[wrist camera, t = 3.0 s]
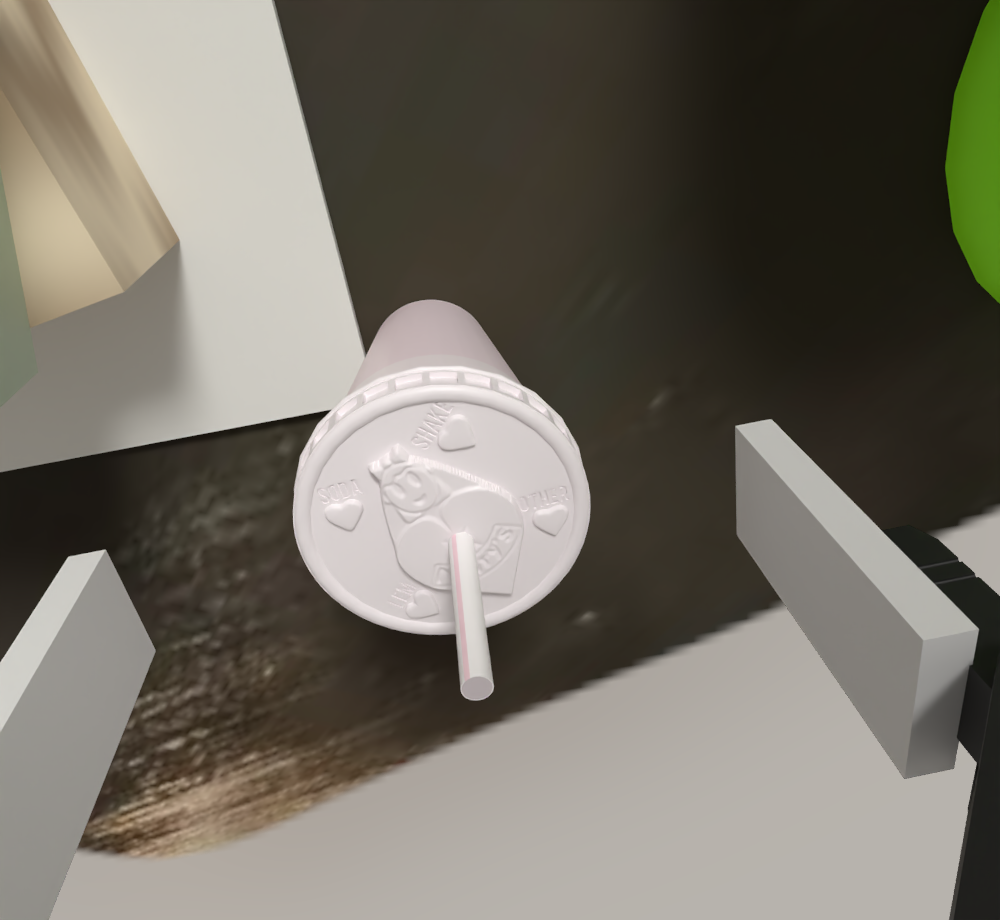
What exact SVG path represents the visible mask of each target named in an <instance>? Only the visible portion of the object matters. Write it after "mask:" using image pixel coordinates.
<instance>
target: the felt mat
mask: <svg viewBox="0 0 1000 920" xmlns="http://www.w3.org/2000/svg"><path fill="white" fill-rule="evenodd" d="M48 2H49V4H50V5H51V7H52V9H53V11H54V13H55V14H56V16H57V18H58V20H59V22H60V24H61V25H62V27H63V29H64V31H65V33H66V34H67V36H68V38H69V40H70V42H71V44H72V45H73V47H74V49H75V51H76V53H77V54H78V56H79V58H80V60H81V62H82V63H83V65H84V67H85V69H86V71H87V73H88V74H89V76H90V78H91V80H92V82H93V83H94V85H95V87H96V89H97V91H98V93H99V94H100V96H101V98H102V100H103V102H104V103H105V105H106V107H107V109H108V111H109V113H110V114H111V116H112V118H113V120H114V122H115V123H116V125H117V127H118V129H119V131H120V132H121V134H122V136H123V138H124V140H125V142H126V143H127V145H128V147H129V149H130V151H131V152H132V154H133V156H134V158H135V160H136V162H137V163H138V165H139V167H140V169H141V171H142V172H143V174H144V176H145V178H146V180H147V182H148V183H149V185H150V187H151V189H152V191H153V192H154V194H155V196H156V198H157V200H158V201H159V203H160V205H161V207H162V209H163V211H164V212H165V214H166V216H167V218H168V220H169V221H170V223H171V225H172V227H173V229H174V231H175V232H176V234H177V236H178V238H179V241H178V242H177V243H176V244H175V245H174V246H173V247H172V248H171V249H170V250H168V251H167V252H166V253H165V254H164V255H163V256H162V257H161V258H160V259H159V260H158V261H157V262H156V263H155V264H154V265H152V266H151V267H150V268H149V269H148V270H147V271H146V272H145V273H144V274H143V275H142V276H141V277H140V278H139V279H137V280H136V281H135V282H134V283H133V284H132V285H131V286H130V287H129V288H128V289H127V290H126V291H125V292H123V293H120V294H117V295H115V296H112V297H110V298H107V299H104V300H102V301H99V302H97V303H94V304H91V305H89V306H86V307H84V308H81V309H78V310H76V311H73V312H71V313H68V314H65V315H63V316H60V317H58V318H55V319H52V320H50V321H47V322H44V323H42V324H39V325H37V326H34V327H31V328H30V331H31V336H32V341H33V347H34V352H35V357H36V363H37V368H38V373H37V374H36V375H35V376H34V377H33V378H31V379H30V380H29V381H28V382H27V383H26V384H25V385H24V386H23V387H22V388H21V389H20V390H19V391H18V392H16V393H15V394H14V395H13V396H12V397H11V398H10V399H9V400H8V401H7V402H6V403H5V404H4V405H3V406H1V407H0V472H4V471H9V470H14V469H20V468H25V467H30V466H35V465H41V464H46V463H51V462H57V461H62V460H67V459H72V458H78V457H83V456H88V455H94V454H99V453H104V452H109V451H115V450H120V449H125V448H131V447H136V446H141V445H147V444H152V443H157V442H162V441H168V440H173V439H178V438H184V437H189V436H194V435H199V434H205V433H210V432H215V431H221V430H226V429H231V428H236V427H242V426H247V425H252V424H258V423H263V422H268V421H274V420H279V419H284V418H289V417H295V416H300V415H305V414H311V413H316V412H321V411H326V410H332V409H333V408H334V407H335V406H336V405H337V404H338V403H339V402H340V401H341V400H342V399H343V398H344V397H345V396H347V394H348V392H349V390H350V388H351V386H352V384H353V382H354V380H355V377H356V375H357V373H358V371H359V369H360V367H361V365H362V363H363V361H364V359H365V357H366V353H365V350H364V346H363V342H362V338H361V334H360V330H359V326H358V323H357V319H356V315H355V311H354V307H353V303H352V299H351V296H350V292H349V288H348V284H347V280H346V276H345V272H344V269H343V265H342V261H341V257H340V253H339V249H338V245H337V242H336V238H335V234H334V230H333V226H332V222H331V218H330V215H329V211H328V207H327V203H326V199H325V195H324V191H323V188H322V184H321V180H320V176H319V172H318V168H317V164H316V161H315V157H314V153H313V149H312V145H311V141H310V137H309V134H308V130H307V126H306V122H305V118H304V114H303V110H302V107H301V103H300V99H299V95H298V91H297V87H296V83H295V80H294V76H293V72H292V68H291V64H290V60H289V56H288V53H287V49H286V45H285V41H284V37H283V33H282V29H281V26H280V22H279V18H278V14H277V10H276V6H275V3H274V0H48Z"/></svg>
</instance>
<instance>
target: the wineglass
mask: <svg viewBox="0 0 1000 920" xmlns="http://www.w3.org/2000/svg"><path fill="white" fill-rule="evenodd" d="M945 172H946V180H947V187H948V195H949V203H950V211H951V218H952V226H953V232H954V234H955V236H956V239H957V241H958V243H959V245H960V247H961V249H962V251H963V253H964V256H965V258H966V260H967V262H968V264H969V266H970V268H971V270H972V272H973V275H974V277H975V279H976V281H977V282H978V283H979V284H980V285H981V286H982V287H983V288H984V289H985V290H986V291H987V292H988V293H989V294H990V295H991V296H992V297H993V298H994V299H995V300H996V301H997V302H999V303H1000V0H989V2H988V4H987V5H986V7H985V9H984V11H983V13H982V16H981V19H980V22H979V25H978V27H977V30H976V33H975V36H974V39H973V42H972V45H971V47H970V50H969V53H968V56H967V59H966V62H965V65H964V67H963V70H962V73H961V76H960V79H959V82H958V85H957V87H956V90H955V93H954V101H953V109H952V116H951V124H950V132H949V140H948V148H947V156H946V164H945Z"/></svg>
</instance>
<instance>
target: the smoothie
mask: <svg viewBox="0 0 1000 920" xmlns="http://www.w3.org/2000/svg"><path fill="white" fill-rule="evenodd" d="M589 519H590V493H589V486H588V481H587V478H586V474H585V471H584V468H583V465H582V460H581V456H580V451H579V447H578V445H577V443H576V442H575V440H574V438H573V437H572V435H571V433H570V431H569V430H568V428H567V426H566V424H565V423H564V421H563V419H562V417H561V416H559V415H558V414H557V413H556V412H555V411H554V410H553V409H552V408H551V407H550V406H549V405H548V404H547V403H546V402H545V401H544V400H543V399H541V398H540V397H539V396H538V395H537V394H536V393H535V392H533V391H531V390H530V389H528V388H526V387H524V386H522V385H521V384H520V382H519V381H518V379H517V378H516V376H515V375H514V373H513V372H512V371H511V369H510V368H509V366H508V365H507V363H506V362H505V361H504V359H503V358H502V356H501V355H500V353H499V352H498V350H497V349H496V348H495V346H494V345H493V343H492V342H491V340H490V339H489V337H488V336H487V335H486V333H485V332H484V330H483V329H482V327H481V326H480V325H479V323H478V322H477V321H476V320H475V318H474V317H473V316H472V315H471V314H469V313H468V312H467V311H465V310H464V309H462V308H461V307H459V306H457V305H455V304H452V303H449V302H445V301H440V300H421V301H416V302H413V303H410V304H407V305H405V306H403V307H401V308H399V309H398V310H396V311H395V312H393V313H392V314H391V315H390V316H389V317H388V318H387V319H386V320H385V321H384V323H383V324H382V325H381V327H380V329H379V331H378V333H377V335H376V337H375V339H374V341H373V343H372V345H371V347H370V349H369V351H368V353H367V355H366V357H365V359H364V361H363V363H362V365H361V367H360V369H359V371H358V373H357V375H356V377H355V380H354V382H353V384H352V386H351V388H350V390H349V392H348V394H347V396H345V397H344V398H343V399H342V400H341V401H340V402H339V403H338V404H337V405H336V406H335V407H334V408H333V409H332V410H331V411H330V412H329V413H328V414H327V415H326V416H325V417H324V418H323V419H322V420H321V421H320V422H319V423H318V424H317V426H316V428H315V430H314V432H313V433H312V435H311V437H310V439H309V441H308V443H307V444H306V446H305V448H304V450H303V452H302V454H301V456H300V460H299V465H298V470H297V475H296V481H295V486H294V504H293V525H294V531H295V537H296V541H297V544H298V548H299V550H300V553H301V555H302V558H303V560H304V562H305V564H306V565H307V567H308V569H309V571H310V572H311V574H312V575H313V577H314V578H315V580H316V581H317V582H318V583H319V584H320V586H321V587H322V588H323V589H324V590H325V591H326V592H327V593H328V594H329V595H330V596H331V597H332V598H333V599H335V600H336V601H337V602H338V603H340V604H341V605H342V606H344V607H345V608H347V609H348V610H350V611H351V612H353V613H354V614H356V615H358V616H360V617H362V618H364V619H366V620H368V621H370V622H373V623H375V624H378V625H381V626H384V627H387V628H390V629H394V630H398V631H402V632H408V633H414V634H425V635H448V634H456V642H457V653H458V665H459V677H460V689H461V693H462V695H463V696H464V697H465V698H467V699H470V700H482V699H485V698H487V697H488V696H489V695H490V694H491V693H492V692H493V689H494V684H493V677H492V670H491V662H490V655H489V647H488V640H487V633H486V628H487V627H490V626H494V625H496V624H499V623H501V622H504V621H507V620H509V619H511V618H513V617H515V616H517V615H519V614H521V613H522V612H524V611H526V610H527V609H529V608H531V607H532V606H533V605H535V604H536V603H538V602H539V601H540V600H542V599H543V598H544V597H545V596H546V595H548V594H549V593H550V592H551V591H552V590H553V589H554V588H555V587H556V586H557V585H558V584H559V583H560V581H561V580H562V579H563V578H564V577H565V575H566V574H567V573H568V571H569V570H570V568H571V567H572V565H573V564H574V562H575V560H576V558H577V557H578V555H579V553H580V550H581V548H582V546H583V543H584V540H585V537H586V534H587V530H588V524H589Z"/></svg>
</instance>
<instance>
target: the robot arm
mask: <svg viewBox="0 0 1000 920" xmlns="http://www.w3.org/2000/svg"><path fill="white" fill-rule="evenodd" d="M735 447H736V517H737V536H738V537H739V539H740V540H741V542H742V543H743V545H744V546H745V548H746V549H747V550H748V552H749V553H750V555H751V556H752V558H753V559H754V561H755V562H756V564H757V565H758V566H759V568H760V569H761V571H762V572H763V574H764V575H765V577H766V578H767V580H768V581H769V582H770V584H771V585H772V587H773V588H774V590H775V591H776V593H777V594H778V596H779V597H780V598H781V600H782V601H783V603H784V604H785V606H786V607H787V609H788V610H789V612H790V613H791V614H792V616H793V617H794V619H795V620H796V622H797V623H798V625H799V626H800V628H801V629H802V630H803V632H804V633H805V635H806V636H807V638H808V639H809V641H810V642H811V644H812V645H813V647H814V648H815V649H816V651H817V652H818V654H819V655H820V657H821V658H822V660H823V661H824V662H825V664H826V665H827V667H828V668H829V670H830V671H831V673H832V674H833V675H834V677H835V678H836V680H837V681H838V683H839V684H840V686H841V687H842V689H843V690H844V691H845V693H846V695H847V696H848V697H849V699H850V700H851V701H852V703H853V705H854V706H855V707H856V709H857V711H858V712H859V713H860V715H861V716H862V718H863V719H864V721H865V722H866V724H867V725H868V727H869V728H870V730H871V731H872V732H873V734H874V735H875V737H876V738H877V740H878V741H879V743H880V744H881V746H882V747H883V748H884V750H885V751H886V753H887V754H888V756H889V757H890V759H891V760H892V762H893V763H894V764H895V766H896V767H897V769H898V770H899V772H900V773H901V775H902V776H903V778H904V779H906V778H911V777H916V776H921V775H926V774H930V773H935V772H940V771H944V770H950V769H954V765H955V759H956V754H957V748H958V743H959V741H960V742H961V744H962V745H963V746H964V747H965V749H966V750H967V751H968V752H969V753H970V755H971V756H972V757H973V758H974V760H975V761H976V762H977V766H976V771H975V775H974V780H973V785H972V790H971V796H970V801H969V805H968V815H967V821H966V827H965V832H964V838H963V844H962V850H961V855H960V861H959V867H958V872H957V878H956V884H955V889H954V895H953V901H952V906H951V912H950V918H949V920H1000V596H999V595H998V594H997V593H996V592H995V591H994V590H992V589H991V588H990V587H989V586H988V585H987V584H986V583H985V582H984V581H983V580H982V579H981V578H979V577H977V578H976V576H975V573H974V572H973V571H972V570H971V569H970V568H969V567H968V566H966V565H965V564H964V563H963V562H959V561H958V557H957V556H956V555H954V554H953V553H952V552H951V551H950V550H949V549H948V548H947V547H946V546H945V545H943V543H941V542H940V541H939V540H938V539H936V538H934V537H932V536H930V535H928V534H926V533H924V532H922V531H920V530H918V529H916V528H914V527H912V526H910V525H907V526H902V527H897V528H892V529H887V530H882V531H881V530H880V529H879V527H878V526H877V525H876V524H875V523H874V522H873V521H872V520H871V519H870V518H869V517H868V516H867V515H866V514H865V513H864V512H863V511H862V510H861V509H860V508H859V507H858V506H857V505H856V504H855V503H854V502H853V501H852V500H851V499H850V498H849V497H848V496H847V495H846V494H845V493H844V492H843V491H842V490H841V489H840V488H839V487H838V486H837V485H836V484H835V483H834V482H833V481H832V480H831V479H830V478H829V477H828V476H827V475H826V474H825V473H824V472H823V471H822V470H821V469H820V468H819V467H818V466H817V465H816V464H815V463H814V462H813V461H812V460H811V459H810V458H809V457H808V456H807V455H806V454H805V453H804V452H803V451H802V450H801V449H800V448H799V447H798V446H797V445H796V444H795V443H794V442H793V441H792V440H791V439H790V438H789V437H788V436H787V434H786V433H785V432H784V431H783V430H782V429H781V428H780V427H779V426H778V425H777V424H776V423H775V422H774V421H773V420H772V419H768V420H763V421H758V422H753V423H748V424H743V425H738V426H735ZM155 651H156V650H155V648H154V646H153V644H152V642H151V640H150V638H149V636H148V634H147V632H146V630H145V628H144V626H143V624H142V622H141V620H140V618H139V616H138V614H137V612H136V610H135V608H134V606H133V604H132V602H131V600H130V598H129V596H128V593H127V591H126V589H125V587H124V585H123V583H122V581H121V579H120V577H119V575H118V573H117V571H116V569H115V567H114V565H113V563H112V561H111V559H110V557H109V555H108V553H107V551H106V550H101V551H95V552H90V553H85V554H80V555H75V556H70V557H68V558H67V560H66V561H65V563H64V564H63V566H62V567H61V569H60V571H59V572H58V574H57V575H56V577H55V578H54V580H53V581H52V583H51V585H50V586H49V588H48V589H47V591H46V592H45V594H44V595H43V597H42V599H41V600H40V602H39V603H38V605H37V606H36V608H35V609H34V611H33V613H32V614H31V616H30V617H29V619H28V620H27V622H26V623H25V625H24V627H23V628H22V630H21V631H20V633H19V634H18V636H17V638H16V639H15V641H14V642H13V644H12V645H11V647H10V648H9V650H8V652H7V653H6V655H5V656H4V658H3V659H2V661H1V662H0V920H49V917H50V915H51V912H52V909H53V907H54V905H55V902H56V900H57V897H58V895H59V892H60V890H61V887H62V884H63V882H64V879H65V877H66V874H67V872H68V869H69V867H70V864H71V862H72V859H73V857H74V854H75V852H76V849H77V847H78V844H79V842H80V839H81V837H82V834H83V832H84V829H85V827H86V824H87V822H88V819H89V817H90V814H91V812H92V809H93V807H94V804H95V802H96V799H97V797H98V794H99V792H100V789H101V787H102V784H103V782H104V779H105V777H106V774H107V772H108V769H109V767H110V764H111V762H112V759H113V757H114V754H115V752H116V749H117V747H118V744H119V742H120V739H121V737H122V734H123V732H124V729H125V727H126V724H127V722H128V719H129V717H130V714H131V712H132V709H133V707H134V704H135V702H136V699H137V697H138V694H139V692H140V689H141V687H142V684H143V681H144V679H145V676H146V674H147V671H148V669H149V666H150V664H151V661H152V659H153V656H154V654H155Z"/></svg>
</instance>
